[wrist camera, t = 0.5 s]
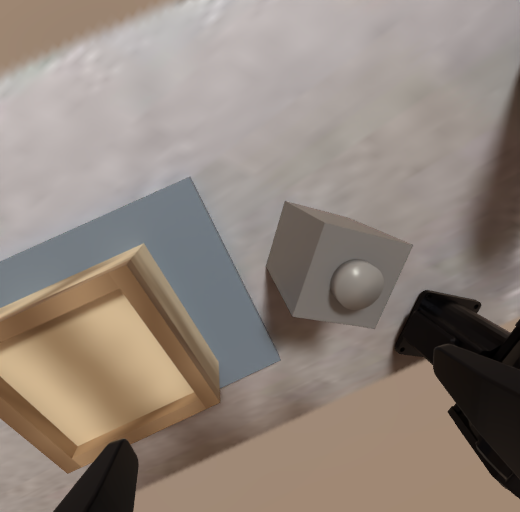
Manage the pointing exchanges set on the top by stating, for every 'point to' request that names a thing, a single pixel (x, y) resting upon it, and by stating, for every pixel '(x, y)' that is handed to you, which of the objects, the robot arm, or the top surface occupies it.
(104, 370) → the wooden tray
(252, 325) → the board
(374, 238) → the block
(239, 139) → the top surface
